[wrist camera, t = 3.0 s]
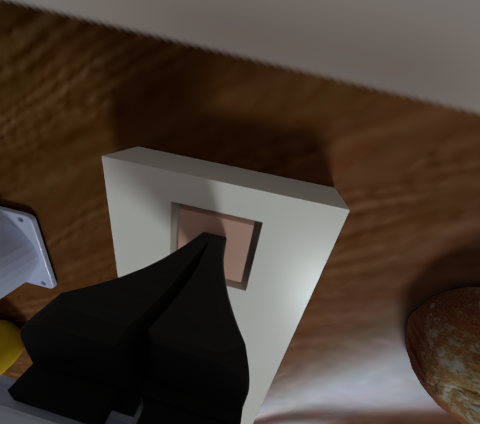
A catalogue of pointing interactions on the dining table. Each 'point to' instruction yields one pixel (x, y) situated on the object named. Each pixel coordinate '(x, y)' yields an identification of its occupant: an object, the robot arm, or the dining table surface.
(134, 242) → the button panel
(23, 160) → the dining table surface
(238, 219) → the button one
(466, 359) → the bread roll
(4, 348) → the duckling
